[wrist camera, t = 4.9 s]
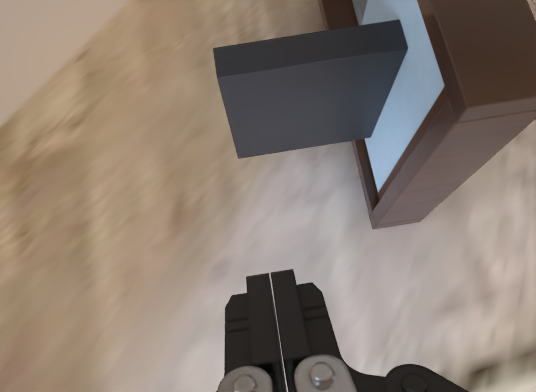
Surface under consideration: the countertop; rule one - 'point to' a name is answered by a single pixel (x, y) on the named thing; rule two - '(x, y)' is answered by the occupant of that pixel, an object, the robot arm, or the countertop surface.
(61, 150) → the countertop surface
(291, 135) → the window pane
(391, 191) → the window frame
